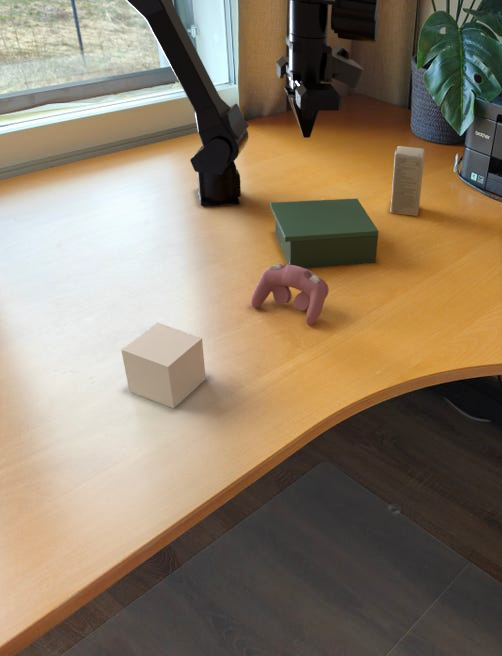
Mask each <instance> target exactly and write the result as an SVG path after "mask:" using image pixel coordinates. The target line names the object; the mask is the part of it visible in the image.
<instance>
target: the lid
mask: <svg viewBox="0 0 502 656" xmlns="http://www.w3.org/2000/svg"><path fill="white" fill-rule="evenodd" d="M269 207H270V210H271V212H272V215H273V217H274V220H275V219H276V222H277V224H278V226H279V229H280V231H281V233H282V236H283V238H284V240H285V242H291V241H306V240H320V239H335V238H350V237H364V236H378V237H379V233H380V232H379V231H380V230H379V229H378V228H377V226H376V225H375V223H374V222H373V219H371V217H370V216H369V214H368V212H367V211H366V210H365V208H364V207H363V205H362V203H361V202H360V200H359V199H358V198H338V199H336V198H335V199H318V200H317V199H316V200H299V201H298V200H296V201H295V200H294V201H276V202H273V201H271V202H269Z"/></svg>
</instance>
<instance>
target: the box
mask: <svg viewBox="0 0 502 656" xmlns="http://www.w3.org/2000/svg"><path fill="white" fill-rule="evenodd" d="M425 153H426V149H425V148H421V147H412V146H411V147H410V146H404V145H397V147H396V149H395V152H394V158H393V159H394V160H393V172H392V186H391V197H390V210H389V211H390V213H391V214H397V215H398V214H399V215H406V216H414V217H418V214H419V210H420V205H421V204H420V203H421V194H422V185H423V174H424V164H425Z"/></svg>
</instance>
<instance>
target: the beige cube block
mask: <svg viewBox="0 0 502 656" xmlns="http://www.w3.org/2000/svg"><path fill="white" fill-rule="evenodd" d="M120 351H121V356H122V360H123V361H122V362H123V366H124V371H125V378H126V381H127V387H128V391H129V392H130V393H132V394H135V395H137V396H139V397H143V398H146V399H148V400H150V401H154V402H156V403H157V404H161V405H163V406H166V407H169V408H172V409H175V408H176V407H177V406H178V405H179V404H181V402H182V401H184V400H185V399H186V398H187V397H188V396H189V395H190V394H191V393H192V392H193V391H195V389H197V388H198V387H199V386H200V385H201V384H202V383H203V382H204V381H205V380H206V378H207V377H206V365H205V357H204V356H205V355H204V345H203V337H200V336H197V335H194V334H192V333H188V332H186V331H183V330H180V329H177V328H176V327H175V328H174V327H171V326H169V325H167V324H163V323H160V322H156V323H154V325H152V326H151V327H149V328H148V329H146V330H145V331H144V332H143V333H142V334H140V335H139V336H137V337H136V338H135V339H134V340H132V341H130V342H129V343H128V344H126V345H125V346H124V347H123V348H121V350H120Z"/></svg>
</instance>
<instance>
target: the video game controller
mask: <svg viewBox="0 0 502 656" xmlns="http://www.w3.org/2000/svg"><path fill="white" fill-rule="evenodd" d="M290 288H292V289H296V290H298V291H300V292H299V293H297V294H296V295H295V297H294V299H293V305H294V307H295V308H296V309H297V310H299V311H306V314H305V315H306V316H305V320H306V321H305V322H306V324H307V325H308V326H312V325H314V324H315V323H316V322H317V320H318V319H319V316H320V315H321V312H322V310H323V307H324V305H325V300H326V298H327V297H328V295H329V291H330V289H329V285H328V283H327V282H326V281H325V279H324V278H322V277H319V276H318V275H317V274H316V273H315V272H313V271H311V270H309V269H305V268H302V267H299V266H295V265H288V264H282V263H277V264H274V265H270V266H268V267H267V268H266V269H265V270H264V271H263V273H262V274H261V276H260V278H259V280H258V282H257V284H256V286H255V288H254V291H253V292H252V295H251V300H250V304H251V307H252V308H253V309H258V308H259V307H261V306H262V305H263V304H264V302H266V300H267V299H268V297H269V295H270V294H271V293H272V297H273V299H274V302H275V303H277V304H279V305H285V304H288V303H290V302H291V300H292V291H291V289H290Z"/></svg>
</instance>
